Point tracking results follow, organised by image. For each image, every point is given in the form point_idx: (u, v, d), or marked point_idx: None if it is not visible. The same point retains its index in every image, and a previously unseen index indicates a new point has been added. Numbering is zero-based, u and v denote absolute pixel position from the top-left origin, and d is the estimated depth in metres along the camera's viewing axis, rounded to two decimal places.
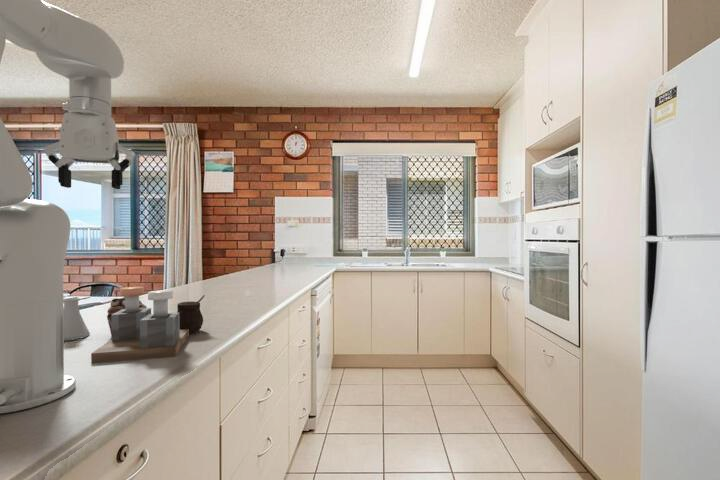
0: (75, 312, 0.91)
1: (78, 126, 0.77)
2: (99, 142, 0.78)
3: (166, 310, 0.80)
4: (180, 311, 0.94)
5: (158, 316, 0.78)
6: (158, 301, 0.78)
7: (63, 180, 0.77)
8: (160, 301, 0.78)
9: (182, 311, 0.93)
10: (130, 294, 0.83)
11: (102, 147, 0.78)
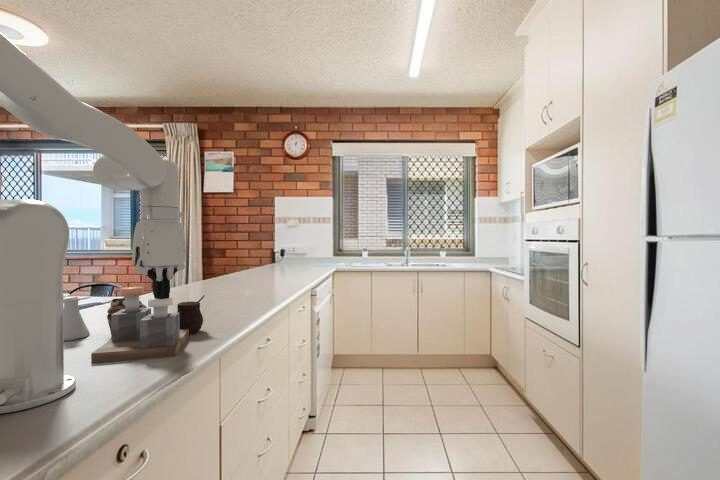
0: (75, 312, 0.91)
1: None
2: None
3: (167, 317, 0.80)
4: (180, 311, 0.94)
5: None
6: (158, 308, 0.78)
7: None
8: (160, 308, 0.78)
9: (182, 311, 0.93)
10: (130, 294, 0.83)
11: None
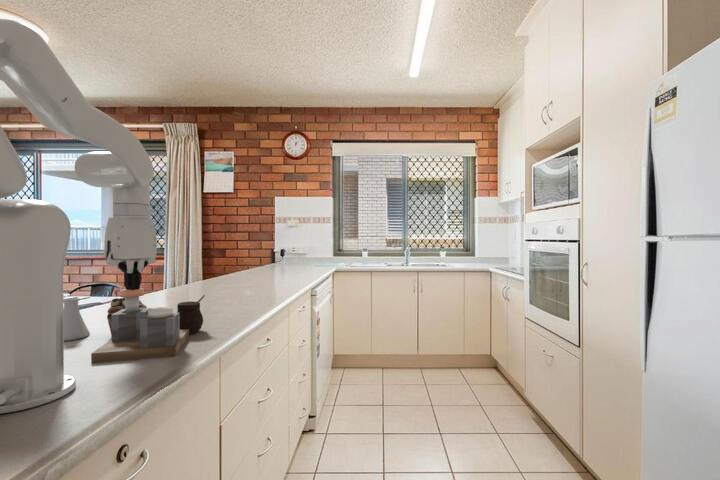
0: (75, 312, 0.91)
1: None
2: None
3: None
4: (180, 311, 0.94)
5: None
6: None
7: None
8: None
9: (182, 311, 0.93)
10: (130, 295, 0.83)
11: None
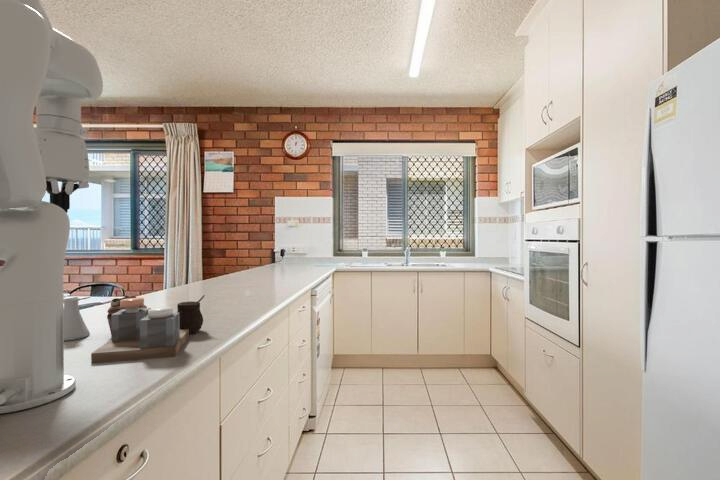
0: (75, 312, 0.91)
1: None
2: None
3: None
4: (180, 311, 0.94)
5: None
6: None
7: None
8: None
9: (182, 311, 0.93)
10: (130, 306, 0.83)
11: None
